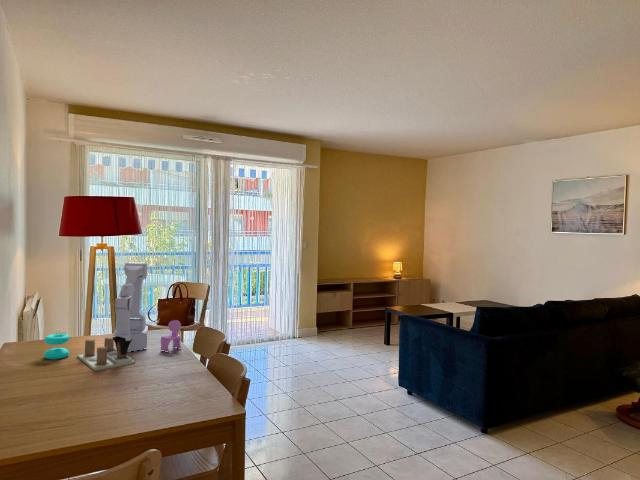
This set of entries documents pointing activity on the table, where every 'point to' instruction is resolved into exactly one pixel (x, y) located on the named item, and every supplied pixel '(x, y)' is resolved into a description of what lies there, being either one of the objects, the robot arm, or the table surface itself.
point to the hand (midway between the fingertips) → (121, 353)
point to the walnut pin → (120, 353)
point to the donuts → (56, 352)
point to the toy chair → (171, 336)
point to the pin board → (102, 355)
